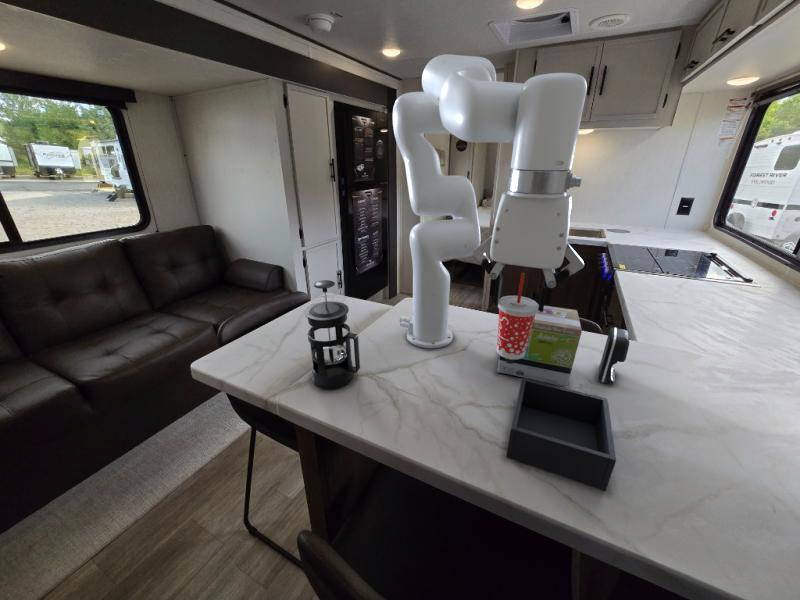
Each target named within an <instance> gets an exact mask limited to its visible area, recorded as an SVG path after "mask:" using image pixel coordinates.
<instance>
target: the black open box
mask: <svg viewBox="0 0 800 600" xmlns="http://www.w3.org/2000/svg"><path fill="white" fill-rule="evenodd" d="M608 399H609V398H606V397H603V396H599V395H595V394H590V393H586V392H583V391H578V390H574V389H570V388H566V387H563V386H559V385H555V384H551V383H546V382H542V381H537V380H533V379H529V378H523V377H521V381H520V387H519V390H518V395H517V400H516V404H515V408H514V413H513V416H512V417H513V418H512V421H511V428H510V432H509V438H508V442H507V443H508V444H507V449H506V454H505V455H506V456H505V458H506V459H509V460H511V461H512V460H513V461H515V462H517V463H521V464H524V465H527V466H530V467H533V468H536V469H539V470H542V471H544V472H547V473H550V474H554V475H555V476H560V477H563V478H564V479H565V478H566V479H568V480H571V481H573V482H577V483H581V484H583V485H585V486H589V487H591V488H594V489H598V490H601V491H603V492H606V491H607V487H608V485H609V482H610V479H611V477H612V473H613V471H614V468H615V464H616V462H617V458H616V451H615V449H616V448H615V442H614V435H613V427H612V421H611V413H610V406H609V400H608Z"/></svg>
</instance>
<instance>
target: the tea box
mask: <svg viewBox="0 0 800 600" xmlns="http://www.w3.org/2000/svg"><path fill="white" fill-rule="evenodd" d="M582 332H583V329H582V326H581V321H580V317H579V313H578V310H577V309H570V308H564V307H558V306H550V305H544V309H543V312H540V311H539V310H538V312H537V313H536V314H535V318H534V322H533V326H532V329H531V333H530V337H529V341H528V345H527V348H526V352H525V356H524V357H523V358H521V359H514V360H513V359H507V358H504V357H502V356H501V355H499V354H498V356H499V357H498V363H497V373H499V374H507V375H511V376H514V377H515V376H516V377H518V378H525V379H530V380H534V381H538V382H542V383H546V384H550V385H554V386H558V387H562V388H566V387H568V384H569V381H570V378H571V373H572V370H573V367H574V362H575V359H576V354H577V351H578V348H579V344H580V340H581V336H582Z"/></svg>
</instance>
